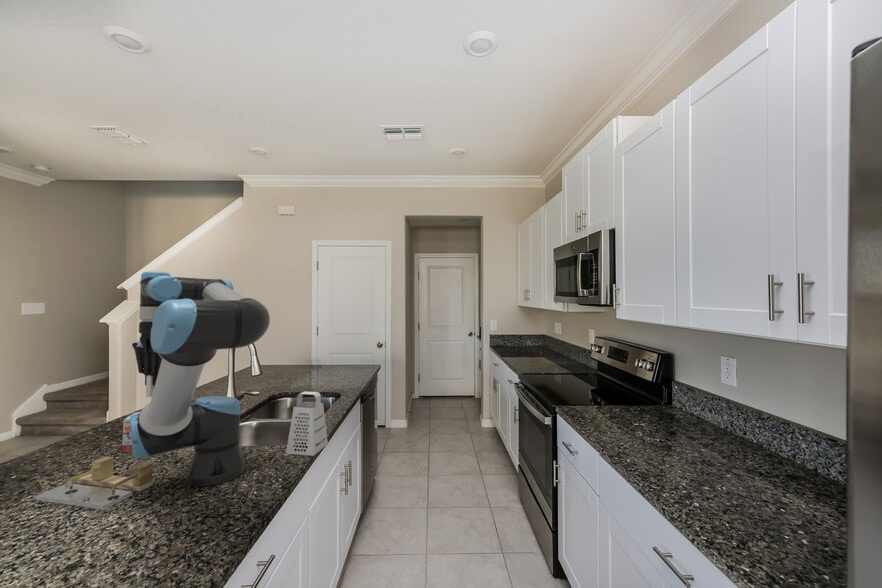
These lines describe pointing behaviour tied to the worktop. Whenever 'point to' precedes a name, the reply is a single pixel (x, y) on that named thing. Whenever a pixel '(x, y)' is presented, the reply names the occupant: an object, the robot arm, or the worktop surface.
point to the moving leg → (97, 470)
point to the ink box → (127, 435)
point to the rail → (125, 479)
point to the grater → (307, 426)
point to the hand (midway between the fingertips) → (152, 395)
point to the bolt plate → (84, 496)
